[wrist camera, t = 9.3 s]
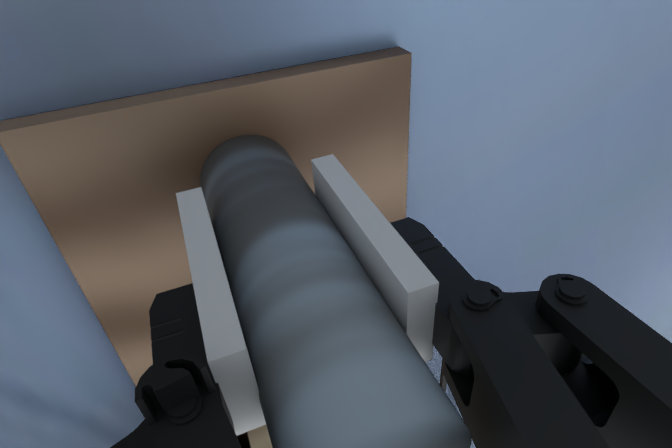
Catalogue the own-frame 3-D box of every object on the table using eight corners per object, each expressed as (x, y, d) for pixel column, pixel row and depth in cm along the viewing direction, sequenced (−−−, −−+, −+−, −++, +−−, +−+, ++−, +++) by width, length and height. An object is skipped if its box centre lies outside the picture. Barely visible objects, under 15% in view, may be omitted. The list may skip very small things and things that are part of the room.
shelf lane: (0, 120, 14) (-86, 283, 8) (399, 46, 18) (542, 123, 12) (220, 527, 34) (242, 666, 28) (391, 452, 37) (445, 561, 31)
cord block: (153, 155, 16) (198, 510, 7) (317, 118, 17) (539, 365, 8) (261, 464, 29) (326, 724, 20) (349, 428, 30) (446, 654, 21)
